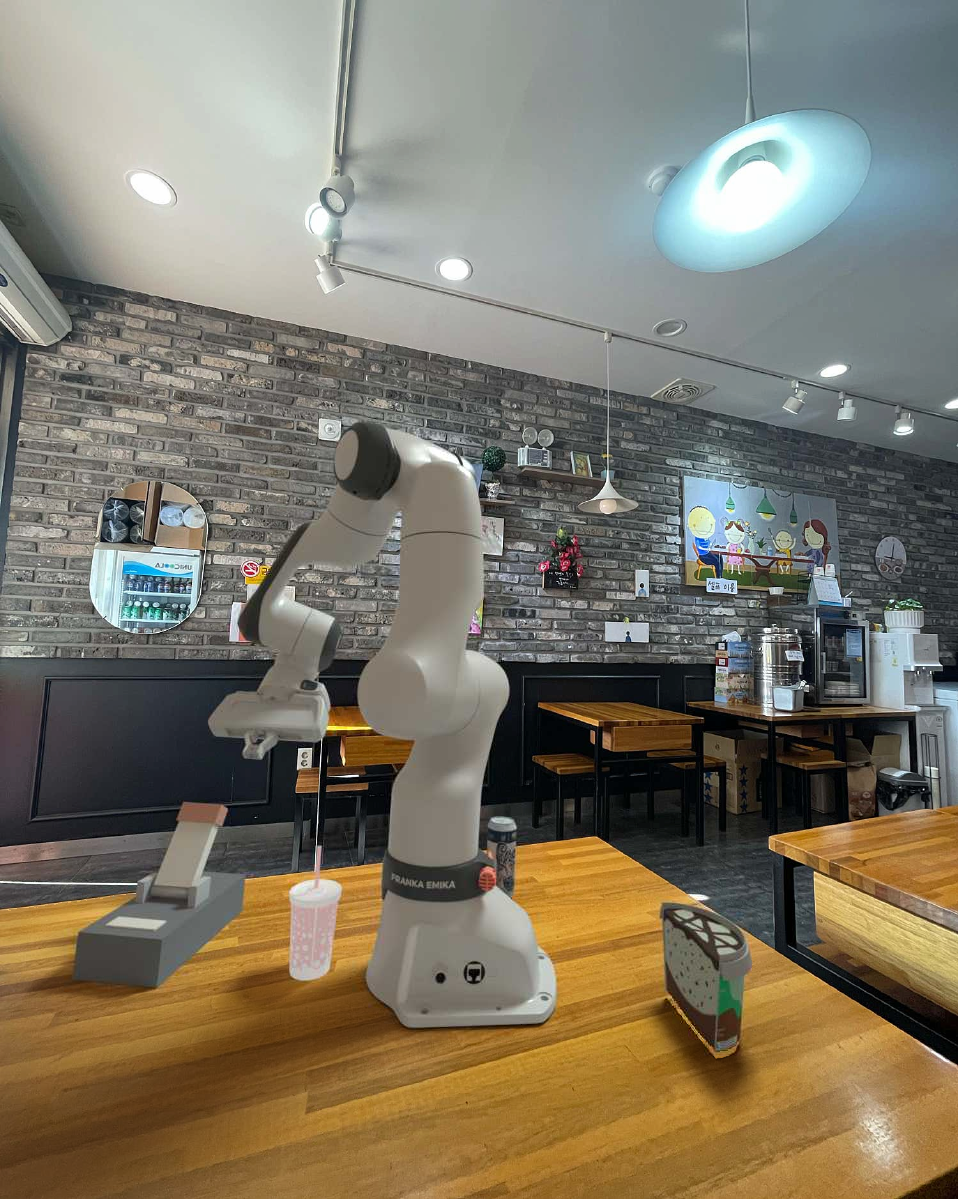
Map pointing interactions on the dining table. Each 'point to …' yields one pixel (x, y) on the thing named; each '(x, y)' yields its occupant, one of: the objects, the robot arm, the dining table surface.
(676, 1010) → the dining table surface
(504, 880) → the beer can
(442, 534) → the robot arm
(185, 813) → the lever
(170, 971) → the switch panel
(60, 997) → the dining table surface
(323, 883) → the beverage cup
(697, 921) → the food container
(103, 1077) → the dining table surface
